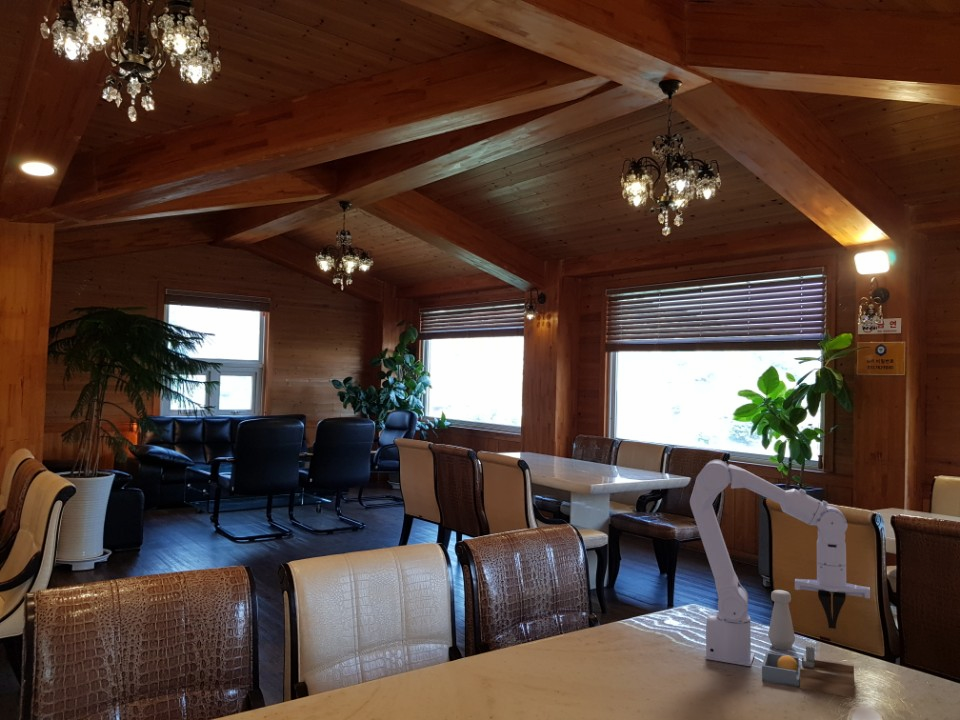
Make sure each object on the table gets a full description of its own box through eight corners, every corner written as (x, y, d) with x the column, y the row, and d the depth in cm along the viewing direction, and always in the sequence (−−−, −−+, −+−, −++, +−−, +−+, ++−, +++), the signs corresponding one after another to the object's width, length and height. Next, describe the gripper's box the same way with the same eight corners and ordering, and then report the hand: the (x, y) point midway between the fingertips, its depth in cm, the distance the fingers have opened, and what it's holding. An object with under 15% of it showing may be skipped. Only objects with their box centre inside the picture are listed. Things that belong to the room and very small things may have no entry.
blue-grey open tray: (762, 680, 149) (761, 665, 149) (766, 666, 157) (766, 652, 157) (798, 687, 146) (798, 672, 146) (801, 672, 154) (801, 657, 154)
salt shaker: (797, 652, 165) (796, 595, 166) (771, 650, 166) (770, 593, 167) (791, 643, 171) (791, 588, 172) (766, 641, 172) (765, 587, 173)
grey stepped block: (803, 673, 147) (803, 647, 147) (804, 664, 152) (804, 639, 152) (814, 674, 146) (813, 649, 146) (815, 666, 151) (814, 641, 151)
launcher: (799, 688, 145) (799, 670, 145) (802, 671, 154) (802, 654, 154) (854, 698, 141) (854, 679, 141) (854, 680, 149) (853, 663, 150)
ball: (787, 655, 149) (801, 672, 148) (789, 649, 153) (802, 665, 151) (772, 665, 150) (786, 682, 149) (773, 659, 154) (787, 675, 152)
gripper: (793, 563, 155) (794, 627, 154) (870, 571, 148) (871, 638, 147) (795, 556, 161) (796, 618, 160) (869, 564, 154) (870, 628, 154)
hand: (832, 627), depth 154 cm, fingers closed
